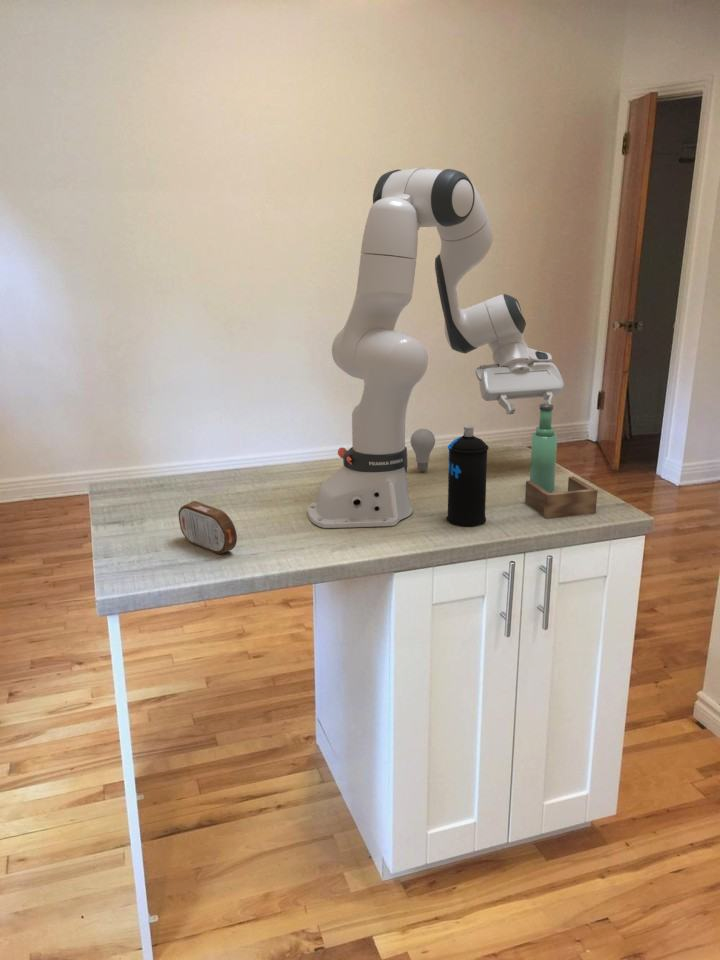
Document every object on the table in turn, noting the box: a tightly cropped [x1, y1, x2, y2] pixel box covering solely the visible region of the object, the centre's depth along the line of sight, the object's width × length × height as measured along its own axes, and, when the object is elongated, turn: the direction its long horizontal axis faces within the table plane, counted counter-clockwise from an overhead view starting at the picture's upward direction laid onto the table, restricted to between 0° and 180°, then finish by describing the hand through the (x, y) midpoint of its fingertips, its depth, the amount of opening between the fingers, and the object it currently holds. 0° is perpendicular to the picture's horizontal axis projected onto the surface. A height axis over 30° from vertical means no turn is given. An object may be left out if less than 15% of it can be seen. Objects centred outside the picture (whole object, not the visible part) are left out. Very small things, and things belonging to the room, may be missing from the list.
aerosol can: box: [445, 425, 489, 528], centre depth 161 cm, size 8×8×20 cm
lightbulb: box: [410, 428, 436, 473], centre depth 195 cm, size 6×6×11 cm
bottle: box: [529, 403, 558, 493], centre depth 179 cm, size 6×6×20 cm
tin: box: [178, 500, 238, 555], centre depth 151 cm, size 15×3×8 cm, turn 48°
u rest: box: [524, 475, 598, 519], centre depth 169 cm, size 11×10×5 cm
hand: (530, 411), depth 184 cm, fingers open, 8 cm apart
